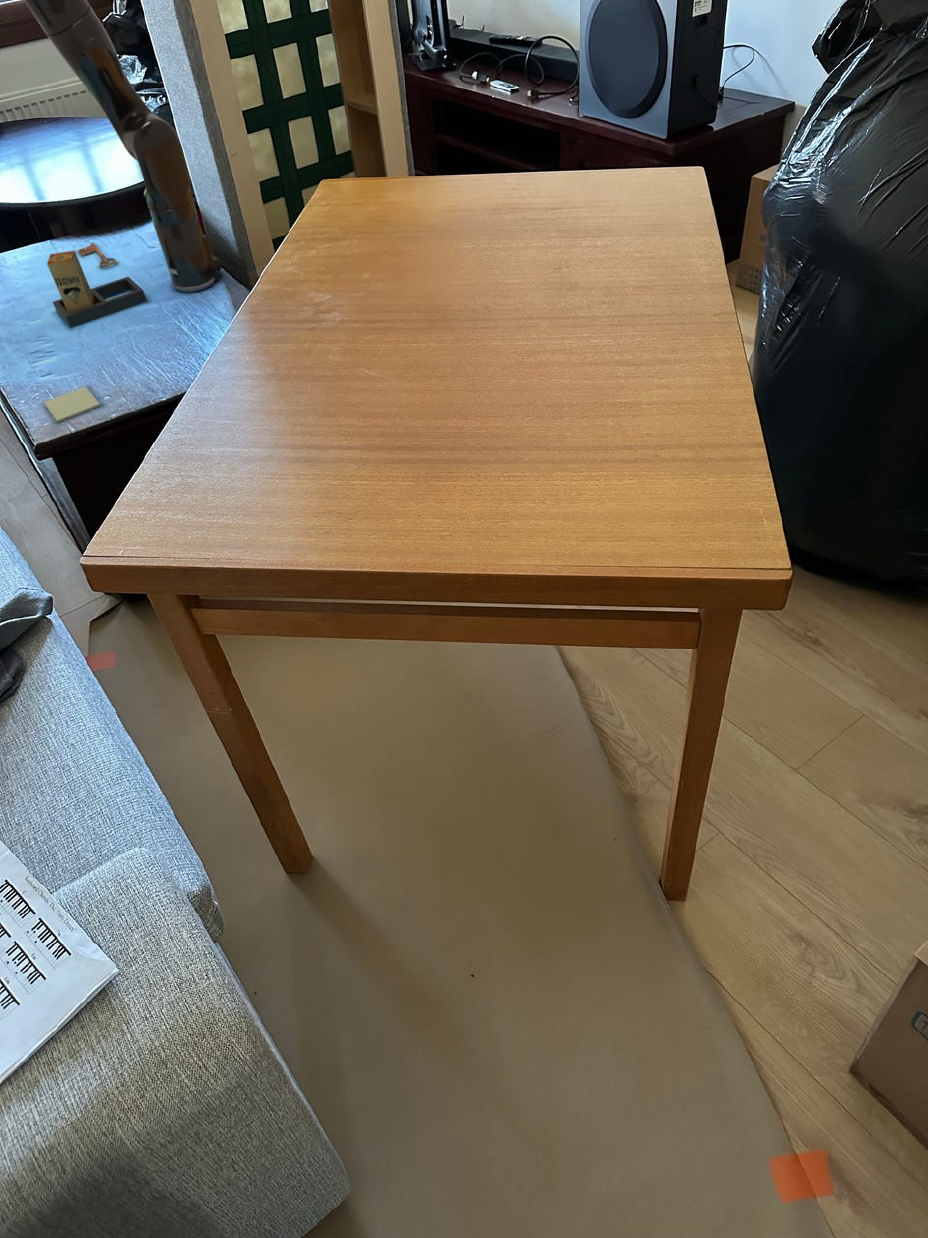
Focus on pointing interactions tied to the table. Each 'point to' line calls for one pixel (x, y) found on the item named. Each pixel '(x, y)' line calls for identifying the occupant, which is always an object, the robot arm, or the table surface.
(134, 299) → the holder
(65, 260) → the shoe polish box
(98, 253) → the key
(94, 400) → the mat
